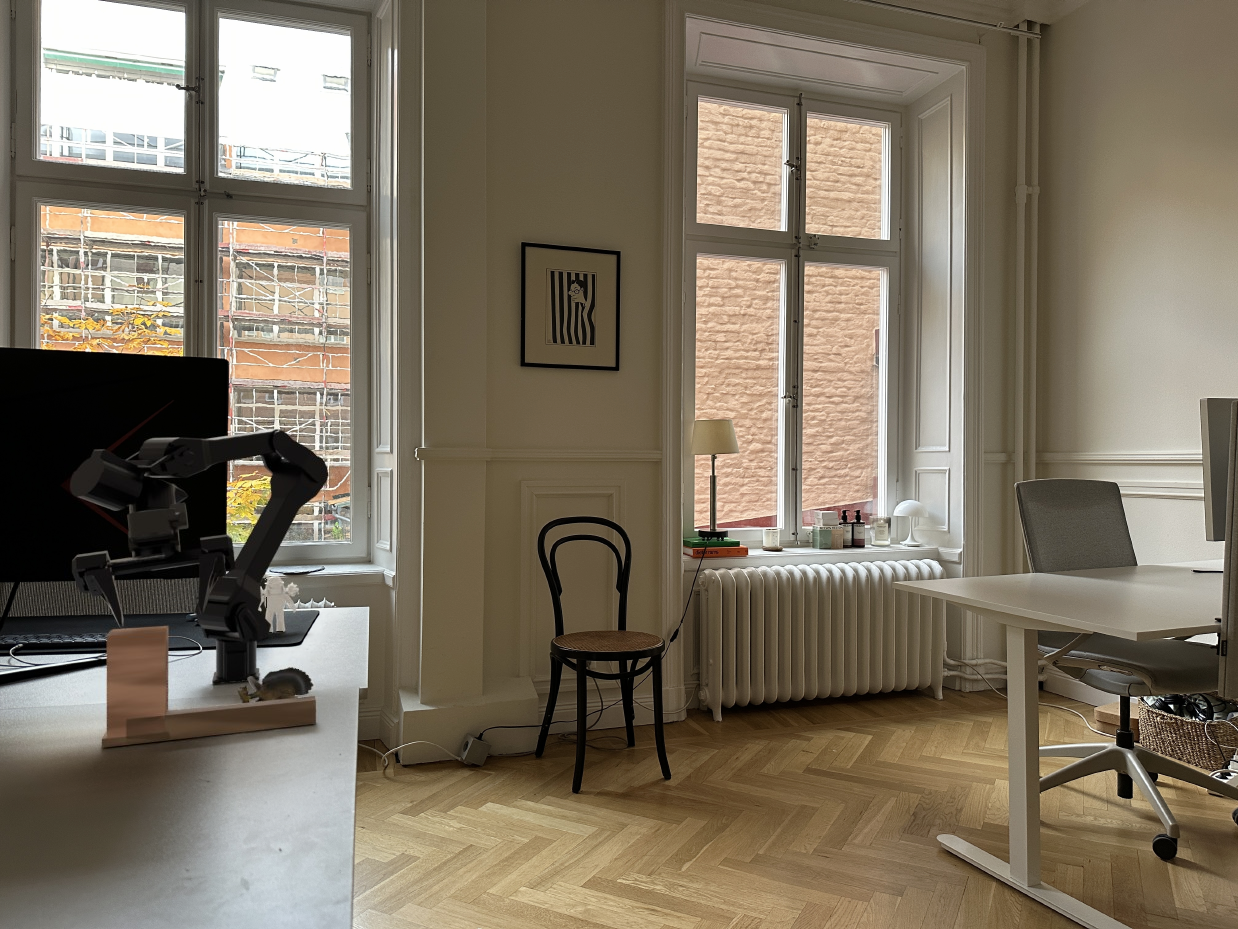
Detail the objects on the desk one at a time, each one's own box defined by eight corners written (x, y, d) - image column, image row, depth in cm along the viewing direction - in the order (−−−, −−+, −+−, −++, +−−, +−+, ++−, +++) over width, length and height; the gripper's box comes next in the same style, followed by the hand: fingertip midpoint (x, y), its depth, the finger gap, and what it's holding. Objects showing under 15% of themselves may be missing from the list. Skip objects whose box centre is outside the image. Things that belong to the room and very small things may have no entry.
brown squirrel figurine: (241, 721, 105) (316, 700, 108) (233, 668, 108) (306, 649, 112) (249, 737, 111) (320, 717, 115) (241, 687, 115) (310, 669, 118)
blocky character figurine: (250, 635, 164) (250, 573, 164) (249, 631, 168) (249, 571, 168) (299, 631, 168) (299, 571, 168) (298, 627, 172) (298, 569, 172)
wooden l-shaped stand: (115, 723, 107) (115, 621, 107) (311, 703, 116) (311, 609, 116) (101, 747, 98) (101, 635, 98) (315, 723, 107) (315, 621, 107)
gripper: (62, 494, 106) (63, 601, 98) (224, 476, 114) (237, 574, 106) (79, 541, 115) (81, 644, 107) (229, 522, 123) (241, 616, 115)
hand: (161, 618), depth 108 cm, fingers open, 9 cm apart
